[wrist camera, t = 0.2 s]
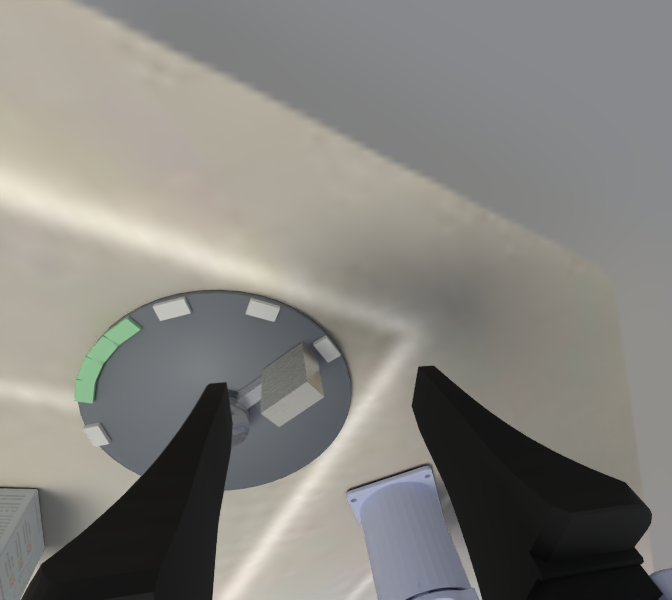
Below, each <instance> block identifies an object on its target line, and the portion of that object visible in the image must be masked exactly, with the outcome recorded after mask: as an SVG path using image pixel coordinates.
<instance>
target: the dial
mask: <svg viewBox="0 0 672 600" xmlns="http://www.w3.org/2000/svg"><path fill="white" fill-rule="evenodd" d="M301 342H303V343H304V344H305V345H306V346H307V347H308V348H309V349H310V350H311V351H312V352H313V353H314V354H315V355H316V356H317V359H318V364H319V370H320V376H321V381H322V387H323V393H324V398H322V399H321V400H319V401H318V402H316V403H315V404H313V405H312V406H310V407H309V408H307V409H306V410H304V411H303V412H301V413H300V414H298V415H297V416H295V417H294V418H292V419H291V420H289V421H288V422H286V423H285V424H283V425H282V426H280V427H278V426H277V425H275V424H274V423H273V422H271V421H270V420H269V419H267V418H266V417H265V416H263V415H262V414H261V400H259V401H258V402H257V403H255V404H254V405H252V406H251V407H250V426H249V433H248V436H247V438H246V439H245V440H244V441H243V442H242V443H240V444H239V445H237V446H235V447H232V448H231V454H230V459H229V465H228V471H227V476H226V482H225V487H224V491H225V490H236V489H244V488H249V487H254V486H259V485H262V484H266V483H269V482H273V481H275V480H278V479H281V478H283V477H286V476H288V475H290V474H292V473H294V472H296V471H298V470H299V469H301V468H303V467H304V466H306V465H308V464H309V463H310V462H312V461H313V460H314V459H316V458H317V457H318V456H320V455H321V454H322V453H323V452H324V451H325V450H326V449H327V448H328V447H329V446H330V444H331V443H332V442H333V441H334V440H335V438H336V437H337V435H338V434H339V432H340V430H341V429H342V427H343V425H344V423H345V420H346V418H347V415H348V411H349V407H350V401H351V385H350V378H349V375H348V371H347V367H346V364H345V361H344V359H343V357H342V355H341V352H340V350H339V349H338V347H337V346H336V344H335V343H334V341H333V340H332V339H331V338H330V336H329V335H328V334H327V333H326V332H325V331H324V330H323V329H322V328H321V327H320V326H319V325H317V324H316V323H315V322H314V321H313V320H311V319H310V318H309V317H307V316H305V315H304V314H302V313H301V312H299V311H297V310H296V309H294V308H292V307H289V306H287V305H285V304H283V303H281V302H278V301H275V300H272V299H269V298H266V297H263V296H260V295H254V294H249V293H244V292H237V291H224V290H208V291H194V292H187V293H181V294H176V295H172V296H168V297H165V298H161V299H158V300H155V301H153V302H151V303H148V304H146V305H143V306H141V307H139V308H137V309H135V310H134V311H132V312H130V313H128V314H127V315H125V316H124V317H122V318H121V319H120V320H118V321H117V322H116V323H115V324H113V325H112V326H111V327H110V328H109V329H108V330H107V331H106V332H105V333H104V334H103V335H102V336H101V337H100V339H99V340H98V341H97V343H96V344H95V346H94V347H93V348H92V349H91V350H90V352H89V353H88V354H87V355H86V357H85V359H84V362H83V364H82V366H81V369H80V371H79V374H78V376H77V379H76V389H75V401H77V402H78V404H79V409H80V414H81V416H82V419H83V421H84V424H85V425H84V427H83V431H84V432H85V434H86V435H87V437H88V438H89V440H90V441H91V443H92V444H93V446H94V447H97V446H100V447H101V448H102V449H103V450H104V451H105V452H106V453H107V454H108V455H109V456H110V457H112V458H113V459H114V460H115V461H117V462H118V463H120V464H121V465H123V466H124V467H126V468H127V469H129V470H131V471H133V472H135V473H137V474H138V475H141V476H142V475H143V474H144V473H145V472H146V471H147V469H148V468H149V467H150V466H151V465H152V464H153V463H154V461H155V460H156V459H157V458H158V457H159V455H160V454H161V453H162V452H163V450H164V449H165V448H166V446H167V445H168V444H169V442H170V441H171V440H172V439H173V437H174V436H175V435H176V433H177V432H178V430H179V429H180V428H181V426H182V425H183V423H184V422H185V420H186V419H187V417H188V416H189V414H190V413H191V411H192V410H193V408H194V406H195V405H196V403H197V402H198V400H199V398H200V396H201V395H202V393H203V391H204V389H205V388H206V386H207V385H208V384H209V383H222V382H227V388H228V390H229V391H234V392H237V393H238V392H239V391H241V390H242V389H243V388H245V387H246V386H248V385H249V384H250V383H252V382H253V381H255V380H256V379H257V378H259V377H260V376H262V370H263V369H265V368H266V367H268V366H269V365H270V364H272V363H273V362H275V361H276V360H277V359H279V358H280V357H282V356H283V355H284V354H286V353H287V352H289V351H290V350H291V349H293V348H294V347H296V346H297V345H298V344H300V343H301Z"/></svg>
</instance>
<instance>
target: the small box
mask: <svg viewBox="0 0 672 600" xmlns="http://www.w3.org/2000/svg"><path fill="white" fill-rule="evenodd" d="M44 549H45V546H44V538H43V530H42V522H41V513H40V505H39V497H38V490H37V489H7V488H0V600H20V598H21V596H22V594H23V592H24V590H25V588H26V586H27V584H28V582H29V580H30V578H31V576H32V574H33V572H34V570H35V567H36V565H37V563H38V561H39V559H40V557H41V555H42V553H43V551H44Z"/></svg>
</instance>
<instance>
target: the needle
mask: <svg viewBox="0 0 672 600" xmlns="http://www.w3.org/2000/svg"><path fill="white" fill-rule="evenodd" d="M228 395H229V401H230V408H231V415H232V421H233V428H232V444H231V448H232V447H235V446H237V445H239V444H240V443H242V442H243V441H244V440H245V439H246V438H247V436H248V433H249V426H250V407H251V406H252V405H254V404H255V403H257V402H258V401H259V400H261V414H262V415H263V416H265V417H266V418H267V419H269V420H270V421H271V422H273V423H274V424H275V425H277V426H278V427H280V426H282V425H283V424H285V423H286V422H288V421H289V420H291V419H292V418H294V417H295V416H297V415H298V414H300V413H301V412H303V411H304V410H306V409H307V408H309V407H310V406H312V405H313V404H315V403H316V402H318V401H319V400H321V399H322V398H324V393H323V387H322V381H321V376H320V370H319V364H318V359H317V356H316V355H315V354H314V353H313V352H312V351H311V350H310V349H309V348H308V347H307V346H306V345H305V344H304V343H303V342H301V343H300V344H298V345H297V346H296V347H294V348H293V349H291V350H290V351H289V352H287V353H286V354H284V355H283V356H282V357H280V358H279V359H277V360H276V361H275V362H273V363H272V364H270V365H269V366H268V367H266V368H265V369H263V370H262V376H260V377H259V378H257V379H256V380H255V381H253V382H252V383H250V384H249V385H248V386H246V387H245V388H243V389H242V390H241V391H239V392H238V393H237V392H234V391H229V390H228Z"/></svg>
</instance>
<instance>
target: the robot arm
mask: <svg viewBox="0 0 672 600" xmlns="http://www.w3.org/2000/svg"><path fill="white" fill-rule="evenodd" d="M412 408H413V412H414V415H415V418H416V421H417V424H418V427H419V430H420V433H421V435H422V437H423V439H424V441H425V444H426V446H427V448H428V450H429V452H430V454H431V456H432V459H433V461H434V463H435V465H436V467H437V469H438V471H439V473H440V476H441V478H442V480H443V482H444V484H445V487H446V489H447V491H448V494H449V496H450V499H451V502H452V505H453V508H454V510H455V513H456V516H457V519H458V522H459V525H460V528H461V531H462V534H463V537H464V540H465V543H466V546H467V549H468V552H469V555H470V559H471V562H472V565H473V569H474V572H475V575H476V578H477V582H478V585H479V589H480V592H481V596H482V600H672V568H670V569H664V570H660V571H657V572H654V573H652V574H651V575H648V574H647V573H646V572H645V570H644V569H643V568H642V566H641V565H640V564H642V563H643V562H644V560H643V557H642V556H641V555H640V554H639V552H638V551H637V550H636V549H635V545H636V544H637V543H638V541H639V540H640V539H641V537H642V536H643V535H644V533H645V532H646V531H647V529H648V527H649V526H650V524H651V519H652V513H651V511H650V509H649V508H648V507H647V506H646V505H645V503H644V502H643V501H642V500H641V499H640V498H639V497H638V496H637V495H636V494H635V493H634V491H633V490H632V489H631V488H630V487H629V486H628V485H627V484H626V483H625V482H623V481H620V480H618V479H615V478H613V477H610V476H608V475H605V474H603V473H600V472H598V471H595V470H593V469H590V468H588V467H586V466H584V465H581V464H579V463H577V462H575V461H573V460H571V459H569V458H566V457H564V456H562V455H560V454H558V453H556V452H554V451H552V450H551V449H549V448H547V447H545V446H543V445H541V444H540V443H538V442H536V441H534V440H532V439H531V438H529V437H527V436H526V435H524V434H522V433H521V432H519V431H518V430H516V429H514V428H513V427H511V426H510V425H508V424H507V423H505V422H504V421H502V420H501V419H499V418H498V417H497V416H495V415H494V414H492V413H491V412H490V411H488V410H487V409H486V408H484V407H483V406H482V405H480V404H479V403H478V402H476V401H475V400H474V399H473V398H471V397H470V396H469V395H468V394H467V393H465V392H464V391H463V390H462V389H461V388H459V387H458V386H457V385H456V384H455V383H453V382H452V381H451V380H450V379H449V378H448V377H446V376H445V375H444V374H443V373H442V372H441V371H439V370H438V369H437V368H436V367H435V366H422V367H418V372H417V378H416V384H415V390H414V396H413V402H412ZM232 428H233V421H232V415H231V408H230V401H229V395H228V388H227V382H222V383H209V384H208V385H207V386H206V388H205V389H204V391H203V393H202V395H201V396H200V398H199V400H198V402H197V403H196V405H195V406H194V408H193V410H192V411H191V413H190V414H189V416H188V417H187V419H186V420H185V422H184V423H183V425H182V426H181V428H180V429H179V430H178V432H177V433H176V435H175V436H174V437H173V439H172V440H171V441H170V442H169V444H168V445H167V446H166V448H165V449H164V450H163V452H162V453H161V454H160V455H159V457H158V458H157V459H156V460H155V461H154V463H153V464H152V465H151V466H150V467H149V468H148V469H147V471H146V472H145V473H144V474H143V475H142V476H141V477H140V478H139V479H138V480H137V481H136V482H135V483H134V485H133V486H132V487H131V488H130V489H129V490H128V491H127V492H126V493H125V494H124V495H123V496H122V497H121V498H120V499H119V500H118V501H117V502H116V503H115V504H114V505H112V506H111V507H110V508H109V509H108V510H107V511H106V512H105V513H104V514H102V515H101V516H100V517H99V518H98V519H97V520H96V521H95V522H94V523H92V524H91V525H90V526H89V527H88V528H87V529H86V530H84V531H83V532H82V533H81V534H80V535H78V536H77V537H76V538H75V539H73V540H72V541H71V542H70V543H68V544H67V545H66V546H64V547H63V548H62V549H61V550H59V551H58V552H57V553H55V554H54V555H53V556H52V557H50V558H49V559H48V560H46V561H45V562H44V563H42V564H41V566H40V568H39V569H38V571H37V573H36V574H35V576H34V578H33V579H32V581H31V582H30V584H29V586H28V588H27V589H26V591H25V593H24V595H23V597H22V599H21V600H212V596H213V582H214V569H215V556H216V544H217V532H218V523H219V516H220V509H221V504H222V498H223V493H224V487H225V482H226V476H227V471H228V465H229V459H230V454H231V444H232ZM346 496H347V500H348V502H349V504H350V506H351V508H352V510H353V512H354V514H355V516H356V518H357V521H358V523H359V525H360V527H361V529H362V531H363V533H364V536H365V541H366V546H367V551H368V555H369V560H370V565H371V569H372V574H373V579H374V584H375V588H376V593H377V598H378V600H479V598H478V596H477V593H476V591H475V588H471V585H470V583H469V580H468V578H467V575H466V573H465V570H464V568H463V565H462V563H461V561H460V558H459V556H458V553H457V551H456V548H455V546H454V543H453V541H452V538H451V536H450V533H449V531H448V528H447V526H446V524H445V521H444V517H443V513H442V509H441V505H440V501H439V497H438V493H437V489H436V485H435V481H434V477H433V473H432V470H431V468H430V467H429V466H423V467H420V468H417V469H414V470H411V471H408V472H405V473H402V474H399V475H396V476H393V477H390V478H387V479H384V480H381V481H378V482H375V483H372V484H369V485H366V486H363V487H360V488H357V489H353V490H350V491H348V492H347V494H346Z"/></svg>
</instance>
